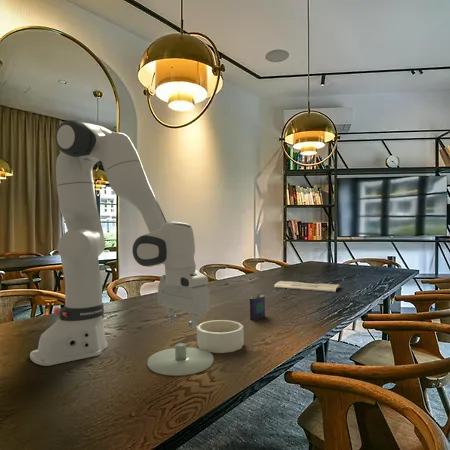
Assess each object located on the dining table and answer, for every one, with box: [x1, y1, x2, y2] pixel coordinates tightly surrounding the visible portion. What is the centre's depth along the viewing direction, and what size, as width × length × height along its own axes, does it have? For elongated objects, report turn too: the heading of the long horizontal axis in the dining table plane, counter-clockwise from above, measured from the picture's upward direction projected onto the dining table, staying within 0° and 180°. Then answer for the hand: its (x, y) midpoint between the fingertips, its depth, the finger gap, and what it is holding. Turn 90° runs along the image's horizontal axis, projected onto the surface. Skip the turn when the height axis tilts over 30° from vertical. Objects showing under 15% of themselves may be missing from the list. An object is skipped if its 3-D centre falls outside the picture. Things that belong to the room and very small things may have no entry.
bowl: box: [196, 319, 245, 354], centre depth 117 cm, size 15×15×6 cm
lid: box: [146, 342, 214, 377], centre depth 103 cm, size 19×19×5 cm
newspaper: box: [273, 280, 341, 293], centre depth 218 cm, size 37×19×3 cm, turn 65°
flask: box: [249, 292, 266, 321], centre depth 150 cm, size 9×3×11 cm, turn 138°
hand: (182, 324), depth 103 cm, fingers open, 8 cm apart
